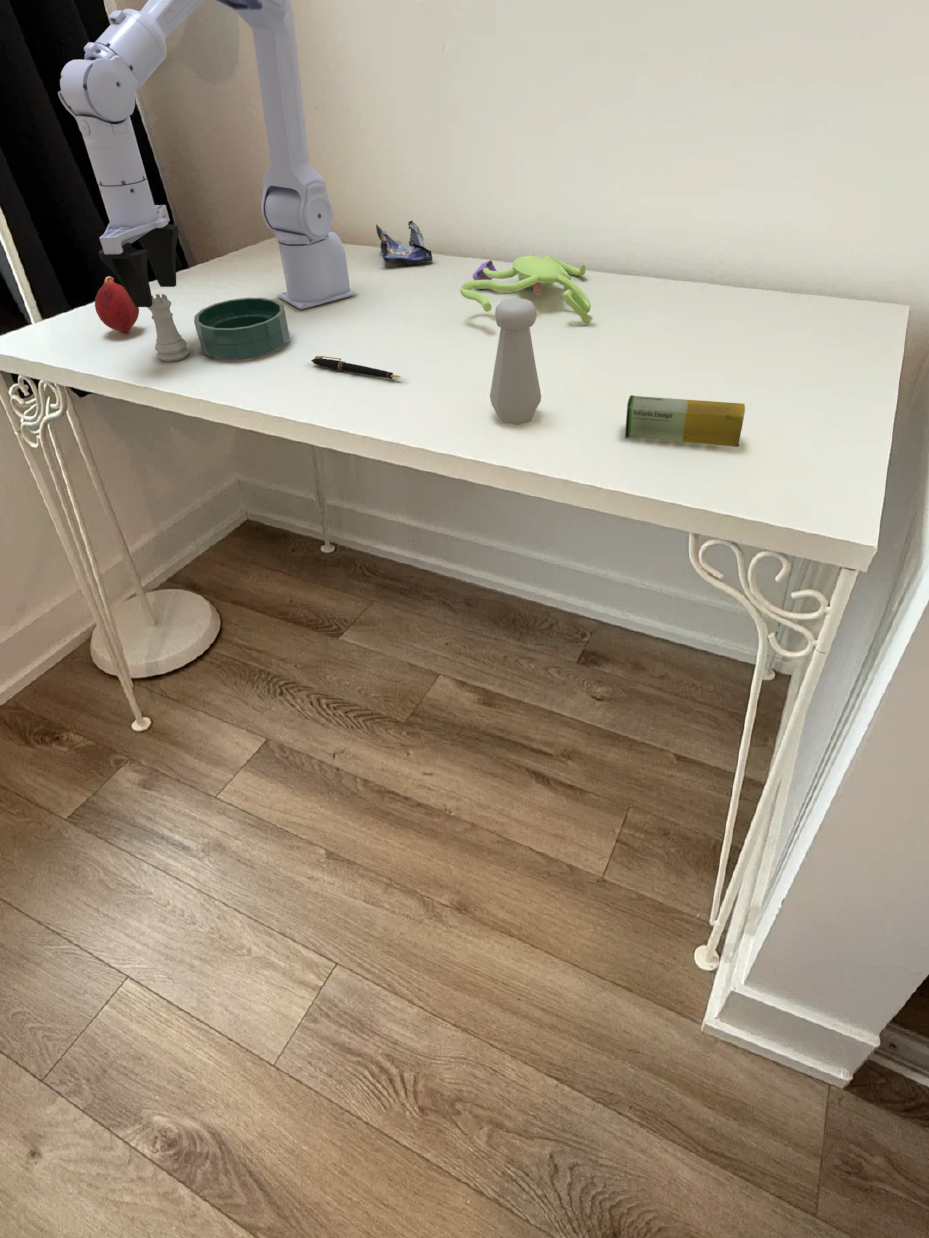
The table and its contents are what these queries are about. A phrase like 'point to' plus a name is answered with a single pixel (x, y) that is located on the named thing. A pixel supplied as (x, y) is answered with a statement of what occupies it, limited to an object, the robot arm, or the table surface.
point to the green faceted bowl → (242, 328)
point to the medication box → (684, 420)
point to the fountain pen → (351, 367)
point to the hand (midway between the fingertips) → (156, 296)
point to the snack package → (404, 247)
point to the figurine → (530, 281)
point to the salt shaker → (515, 363)
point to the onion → (115, 306)
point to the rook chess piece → (167, 331)
